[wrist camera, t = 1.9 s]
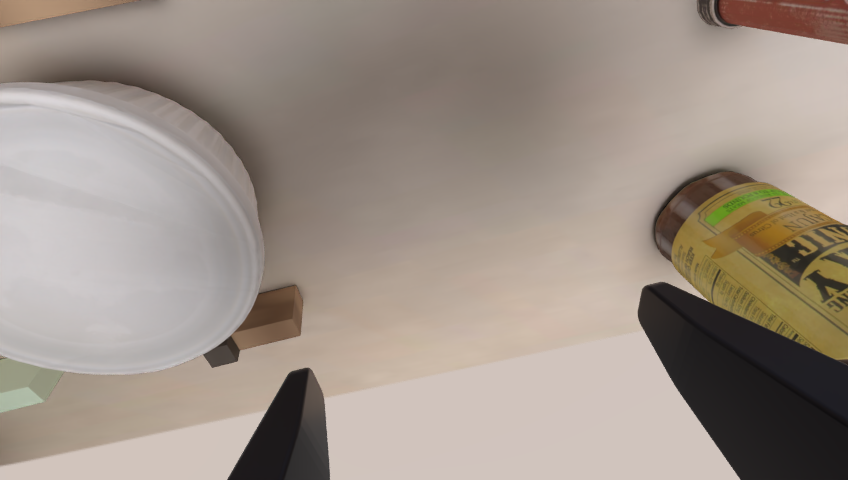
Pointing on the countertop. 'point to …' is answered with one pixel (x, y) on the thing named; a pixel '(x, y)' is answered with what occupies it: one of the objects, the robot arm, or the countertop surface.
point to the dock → (25, 384)
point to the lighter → (781, 16)
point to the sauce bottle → (762, 257)
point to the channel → (272, 311)
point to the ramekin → (119, 230)
